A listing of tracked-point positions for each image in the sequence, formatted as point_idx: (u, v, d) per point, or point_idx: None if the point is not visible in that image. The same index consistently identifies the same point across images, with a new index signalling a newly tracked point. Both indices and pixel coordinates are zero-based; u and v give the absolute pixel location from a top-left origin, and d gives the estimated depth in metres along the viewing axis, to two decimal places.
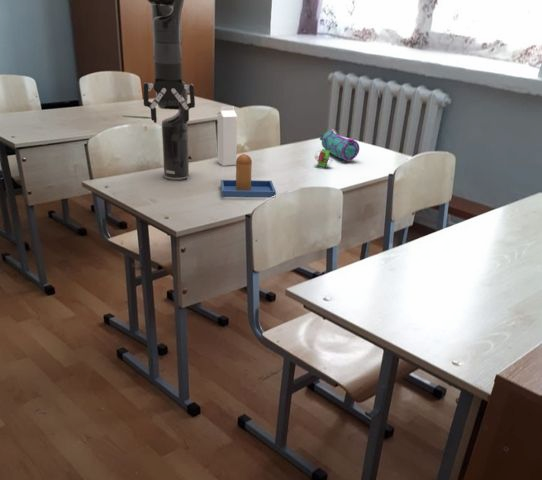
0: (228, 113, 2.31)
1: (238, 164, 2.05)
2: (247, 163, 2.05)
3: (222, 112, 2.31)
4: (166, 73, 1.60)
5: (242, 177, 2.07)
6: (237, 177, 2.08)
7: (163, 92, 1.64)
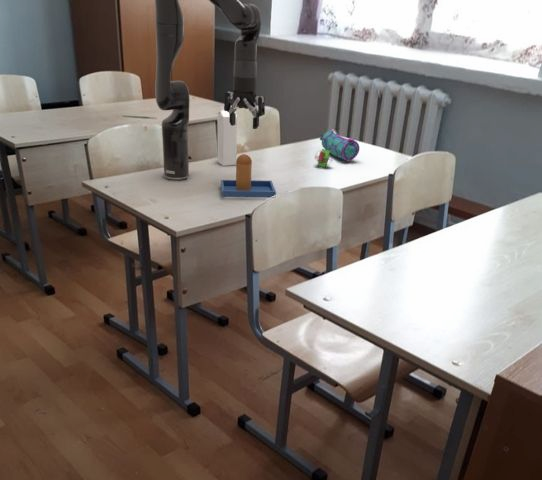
0: (228, 113, 2.31)
1: (238, 164, 2.05)
2: (247, 163, 2.05)
3: (222, 112, 2.31)
4: (238, 84, 1.91)
5: (242, 177, 2.07)
6: (237, 177, 2.08)
7: (237, 100, 1.96)
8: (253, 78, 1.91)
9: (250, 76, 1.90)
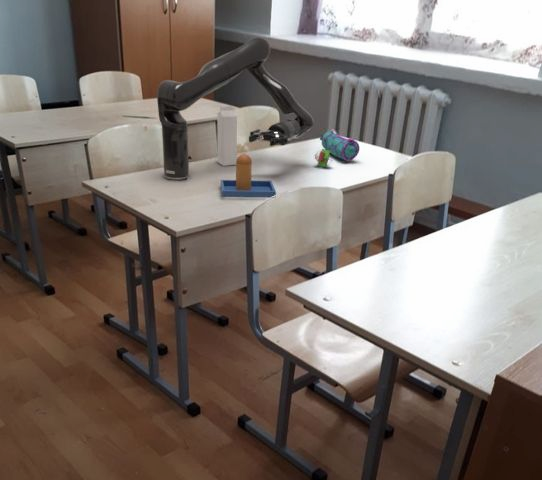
0: (228, 113, 2.31)
1: (238, 164, 2.05)
2: (247, 163, 2.05)
3: (222, 112, 2.31)
4: (277, 123, 2.21)
5: (242, 177, 2.07)
6: (237, 177, 2.08)
7: (268, 130, 2.18)
8: (289, 131, 2.22)
9: (289, 128, 2.22)
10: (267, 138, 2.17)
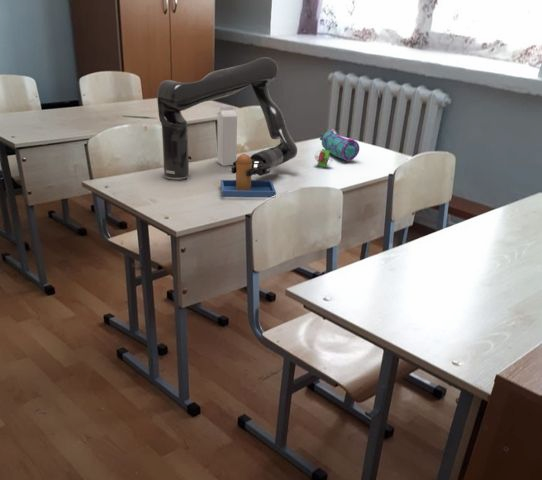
0: (228, 113, 2.31)
1: (238, 164, 2.05)
2: (247, 163, 2.05)
3: (222, 112, 2.31)
4: (259, 152, 2.15)
5: (242, 177, 2.07)
6: (237, 177, 2.08)
7: None
8: (271, 161, 2.17)
9: (271, 157, 2.17)
10: None
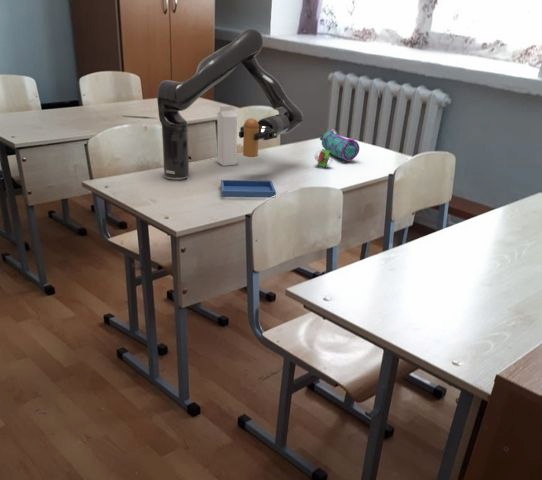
0: (228, 113, 2.31)
1: (245, 128, 2.09)
2: (254, 127, 2.08)
3: (222, 112, 2.31)
4: (266, 118, 2.19)
5: (249, 141, 2.10)
6: (244, 141, 2.11)
7: None
8: (278, 126, 2.20)
9: (277, 123, 2.20)
10: None
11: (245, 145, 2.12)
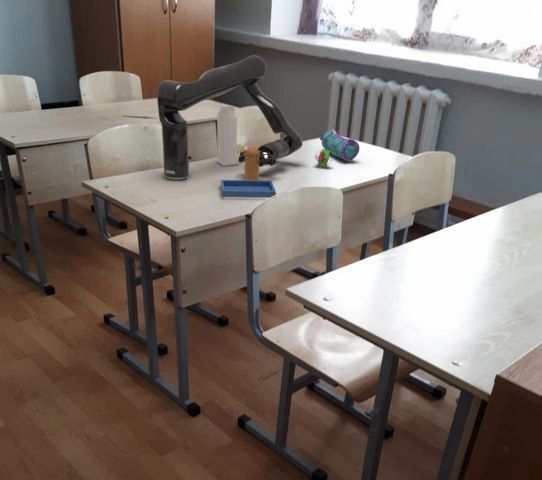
0: (228, 113, 2.31)
1: (247, 156, 2.17)
2: (255, 155, 2.17)
3: (222, 112, 2.31)
4: (267, 144, 2.27)
5: (251, 168, 2.19)
6: (246, 169, 2.20)
7: None
8: (278, 152, 2.28)
9: (278, 148, 2.29)
10: None
11: (246, 172, 2.20)
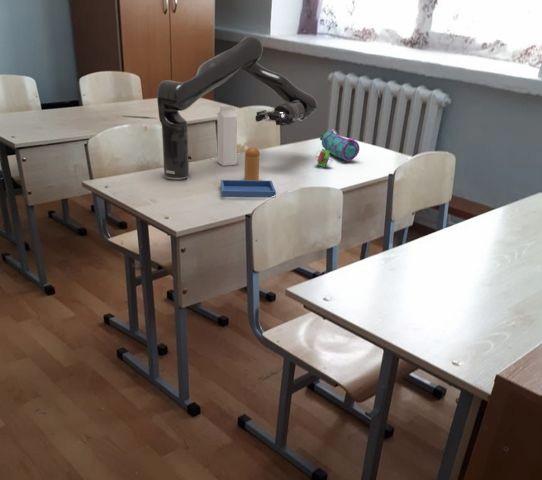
0: (228, 113, 2.31)
1: (247, 156, 2.17)
2: (255, 155, 2.17)
3: (222, 112, 2.31)
4: (283, 104, 2.29)
5: (251, 168, 2.19)
6: (246, 169, 2.20)
7: (274, 110, 2.26)
8: (294, 112, 2.30)
9: (294, 109, 2.30)
10: (273, 118, 2.25)
11: (246, 172, 2.20)
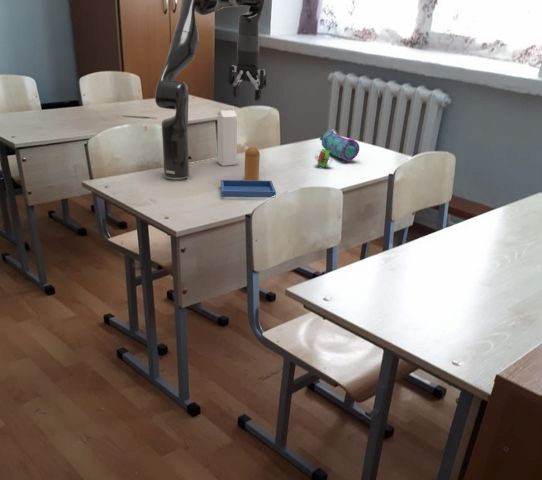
0: (228, 113, 2.31)
1: (247, 156, 2.17)
2: (255, 155, 2.17)
3: (222, 112, 2.31)
4: (241, 58, 2.04)
5: (251, 168, 2.19)
6: (246, 169, 2.20)
7: (241, 73, 2.08)
8: (255, 52, 2.03)
9: (252, 50, 2.02)
10: None
11: (246, 172, 2.20)
